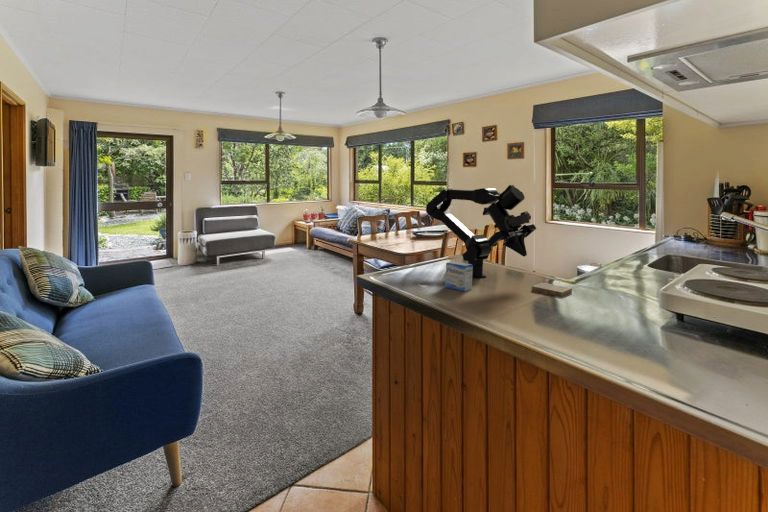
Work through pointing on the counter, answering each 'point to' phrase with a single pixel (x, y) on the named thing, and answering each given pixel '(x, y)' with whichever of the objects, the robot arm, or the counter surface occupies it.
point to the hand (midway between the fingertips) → (525, 255)
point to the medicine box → (458, 276)
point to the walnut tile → (552, 289)
